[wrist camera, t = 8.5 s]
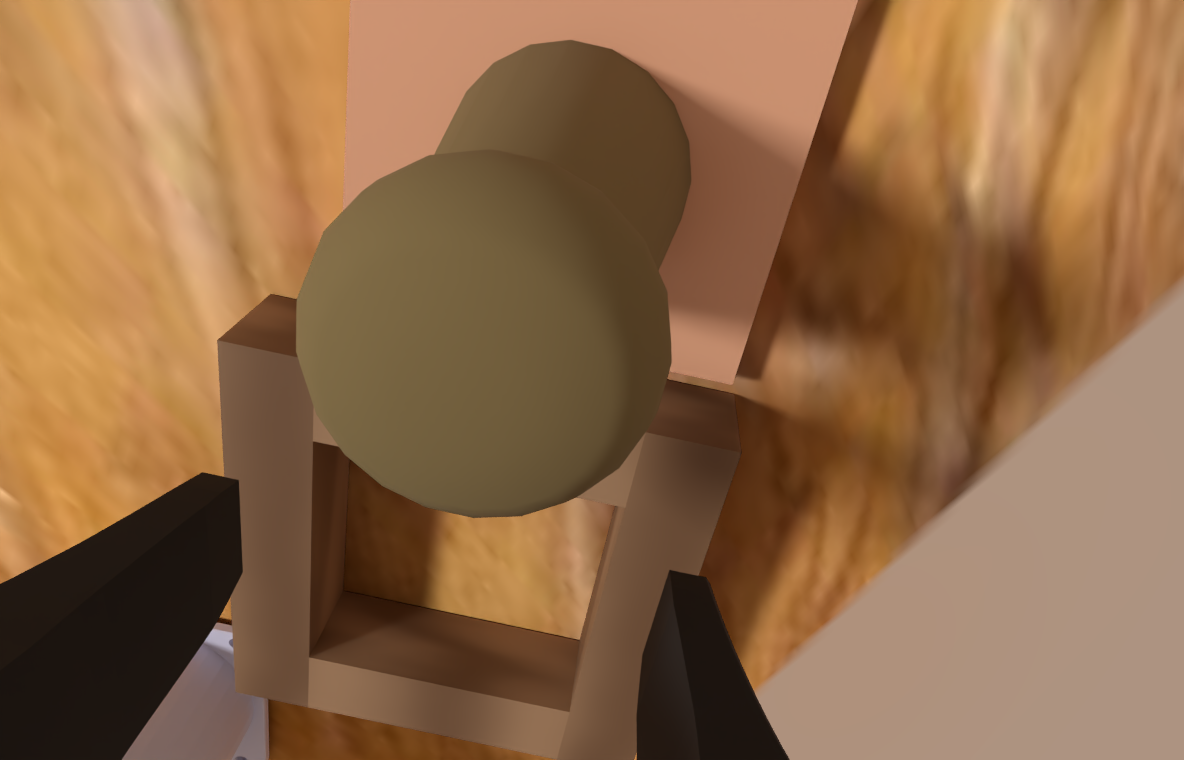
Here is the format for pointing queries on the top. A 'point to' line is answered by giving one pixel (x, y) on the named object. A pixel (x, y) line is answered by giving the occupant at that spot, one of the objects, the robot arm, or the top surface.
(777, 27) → the terracotta tile
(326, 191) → the top surface
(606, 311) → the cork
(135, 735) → the robot arm
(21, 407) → the top surface
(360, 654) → the walnut holder
